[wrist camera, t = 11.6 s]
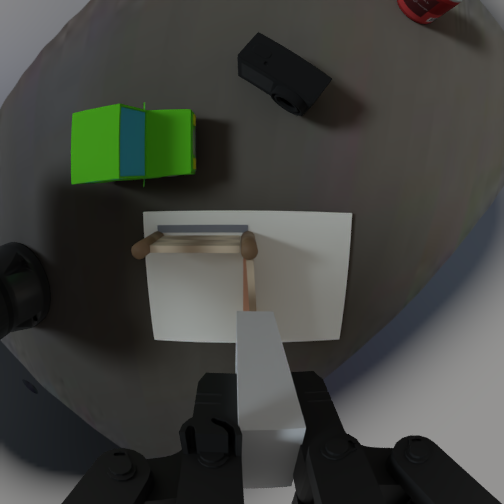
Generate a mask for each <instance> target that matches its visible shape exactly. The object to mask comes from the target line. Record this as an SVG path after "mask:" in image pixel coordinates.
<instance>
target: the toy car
mask: <svg viewBox="0 0 504 504" xmlns="http://www.w3.org/2000/svg"><path fill="white" fill-rule="evenodd" d="M195 172H196V116H195V114H194V113H193V112H192V110H191V109H177V110H145V102H144V103H143V109H140V108H136V107H132V106H128V105H123V104H115V105H110V106H105V107H100V108H95V109H90V110H86V111H81V112H77V113H73V115H72V135H71V184H87V183H106V182H112V181H122V180H137V179H143V187H144V186H145V179H150V178H161V177H165V176H168V177H170V176H178V175H191V174H195Z"/></svg>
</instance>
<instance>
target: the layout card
mask: <svg viewBox="0 0 504 504" xmlns="http://www.w3.org/2000/svg"><path fill="white" fill-rule="evenodd" d="M143 223H144V238H146V237H147V236H149V235H151V234H152V233H154V232H156V231H159V232H161V233H163V234H164V236H176V235H240V253H149V254H148V255H147V256H145V257H146V270H147V282H148V292H149V301H150V310H151V318H152V326H153V333H154V340H166V341H187V342H221V343H236V315H237V311H249V297H248V281H247V266H246V259H245V258H243V257H242V255H241V235H242V234H243V233H244V232H245V231H251V232H252V233H253V234H254V235H255V239H256V244H257V248H258V254H257V256H256V257H255V258H254V259H253V260H254V277H255V294H256V311H270V312H274V316H275V319H276V323H277V326H278V330H279V333H280V337H281V340H282V342H301V341H321V340H337V339H339V338H340V332H341V325H342V317H343V310H344V302H345V293H346V284H347V275H348V264H349V253H350V240H351V225H352V213H340V212H310V211H255V210H202V211H148V212H143Z"/></svg>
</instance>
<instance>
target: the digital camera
mask: <svg viewBox="0 0 504 504" xmlns="http://www.w3.org/2000/svg"><path fill="white" fill-rule="evenodd" d="M238 76H240V77H241V78H243V79H245V80H246V81H248V82H250V83H251V84H253V85H255V86H256V87H258V88H259V89H261V90H263V91H264V92H266V93H267V94H269V95H270V96H271V98H272V99H273V100H274V101H275V102H276V103H277V104H278V105H279V106H281V107H282V108H283V109H285V110H286V111H288V112H290V113H292V114H295V115H299V116H303V115H304V114H305V112H306V111H307V110H308V109H309V108H310V107H311V106H312V105H313V104H314V102H315V101H316V100H317V98H318V97H319V96H320V94H321V93H322V92H323V91H324V89H325V88H326V87H327V85H328V84H329V83H330V81H331V80H332V78H330V77H329V76H327V75H326V74H325V73H323V72H322V71H320V70H319V69H318V68H316V67H315V66H313V65H312V64H310V63H309V62H307V61H306V60H304V59H303V58H301V57H300V56H298V55H296V54H295V53H293V52H292V51H290V50H288V49H287V48H285V47H284V46H282V45H280V44H278V43H277V42H275V41H273V40H272V39H270V38H268V37H266V36H264V35H263V34H261V33H259V32H258V33H257V34H256V35H255V36H254V37H253V38H252V39H251V41H250V42H249V43H248V44H247V45H246V46H245V47H244V48H243V50H242V51H241V52H240V53H239V54H238Z"/></svg>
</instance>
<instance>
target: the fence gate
mask: <svg viewBox="0 0 504 504" xmlns="http://www.w3.org/2000/svg"><path fill="white" fill-rule="evenodd" d="M246 266H247V281H248V297H249V311H256V294H255V277H254V260H253V259H252V260H247V259H246Z"/></svg>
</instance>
